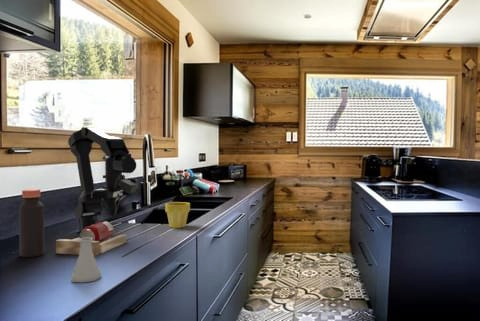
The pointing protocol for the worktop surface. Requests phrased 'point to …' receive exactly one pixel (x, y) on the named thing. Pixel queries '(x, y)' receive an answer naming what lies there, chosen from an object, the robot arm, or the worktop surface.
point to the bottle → (31, 224)
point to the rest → (74, 245)
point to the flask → (86, 264)
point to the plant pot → (177, 213)
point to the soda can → (98, 231)
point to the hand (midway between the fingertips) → (114, 215)
